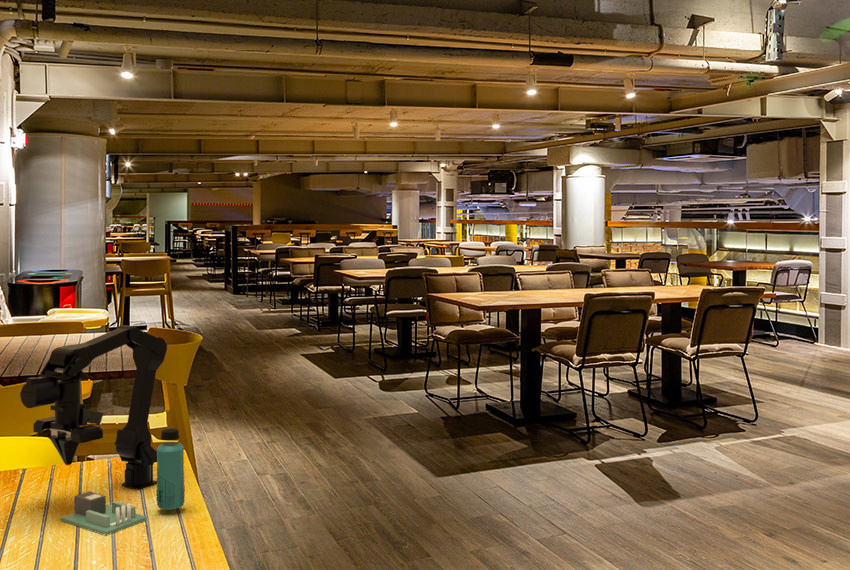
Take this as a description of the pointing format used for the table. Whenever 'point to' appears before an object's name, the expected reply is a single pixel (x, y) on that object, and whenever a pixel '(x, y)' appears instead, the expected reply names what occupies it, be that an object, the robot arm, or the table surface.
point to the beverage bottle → (170, 471)
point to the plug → (89, 503)
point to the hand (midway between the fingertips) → (68, 464)
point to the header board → (106, 518)
